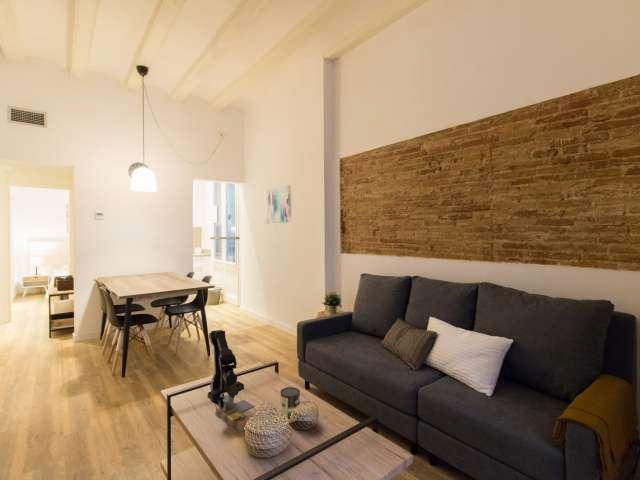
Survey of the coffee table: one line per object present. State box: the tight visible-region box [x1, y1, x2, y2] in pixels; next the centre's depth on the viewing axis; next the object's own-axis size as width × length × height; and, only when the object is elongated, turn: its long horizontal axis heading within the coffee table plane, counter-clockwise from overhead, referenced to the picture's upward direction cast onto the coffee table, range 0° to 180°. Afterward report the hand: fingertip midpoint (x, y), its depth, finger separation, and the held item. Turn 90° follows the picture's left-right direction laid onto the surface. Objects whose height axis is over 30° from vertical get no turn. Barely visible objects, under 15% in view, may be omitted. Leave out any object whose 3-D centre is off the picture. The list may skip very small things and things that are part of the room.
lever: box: [228, 412, 244, 420], centre depth 169 cm, size 5×1×6 cm
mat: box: [234, 399, 255, 414], centre depth 189 cm, size 10×10×1 cm
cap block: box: [218, 394, 235, 412], centre depth 179 cm, size 6×5×5 cm
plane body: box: [214, 405, 250, 433], centre depth 175 cm, size 23×6×5 cm, turn 48°
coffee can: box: [279, 386, 301, 419], centre depth 179 cm, size 10×10×14 cm
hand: (226, 406), depth 179 cm, fingers closed on cap block, 5 cm apart
